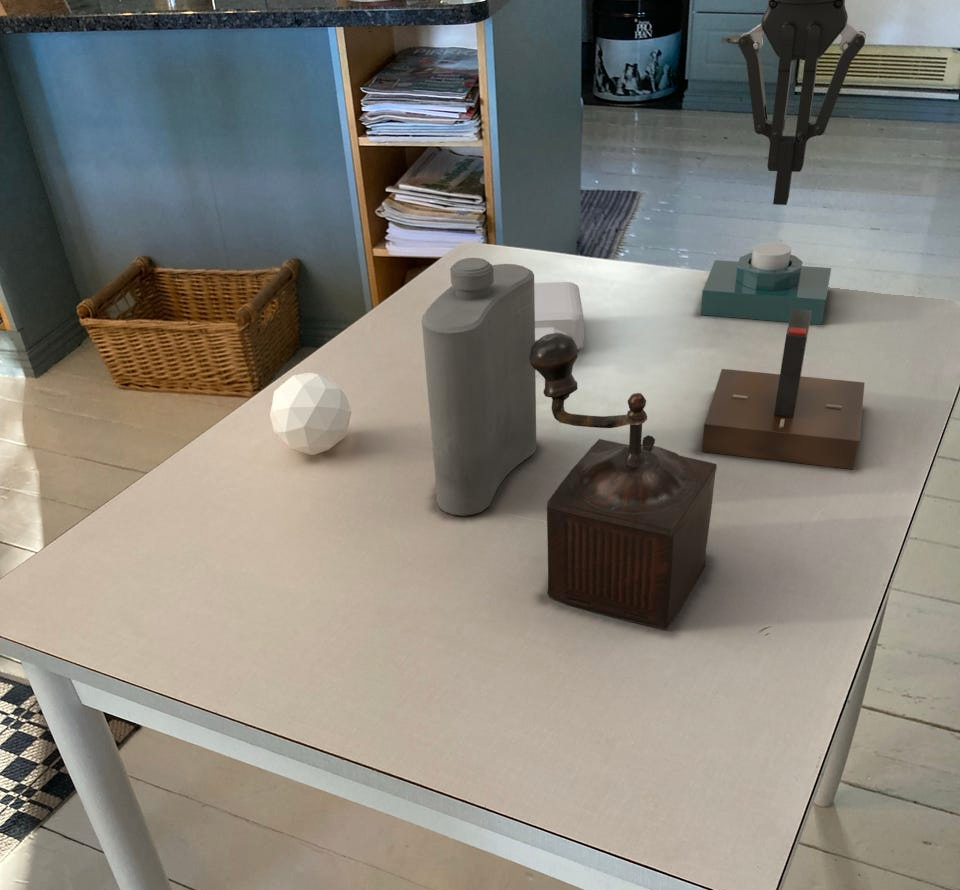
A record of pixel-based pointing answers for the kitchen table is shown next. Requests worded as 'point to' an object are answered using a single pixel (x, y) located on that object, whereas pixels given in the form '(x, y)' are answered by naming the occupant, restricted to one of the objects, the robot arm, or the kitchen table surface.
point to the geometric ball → (310, 413)
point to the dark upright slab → (792, 362)
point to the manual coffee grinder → (622, 511)
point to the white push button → (771, 256)
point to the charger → (558, 310)
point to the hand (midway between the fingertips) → (780, 200)
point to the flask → (480, 381)
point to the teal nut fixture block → (764, 290)
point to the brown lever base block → (785, 420)
